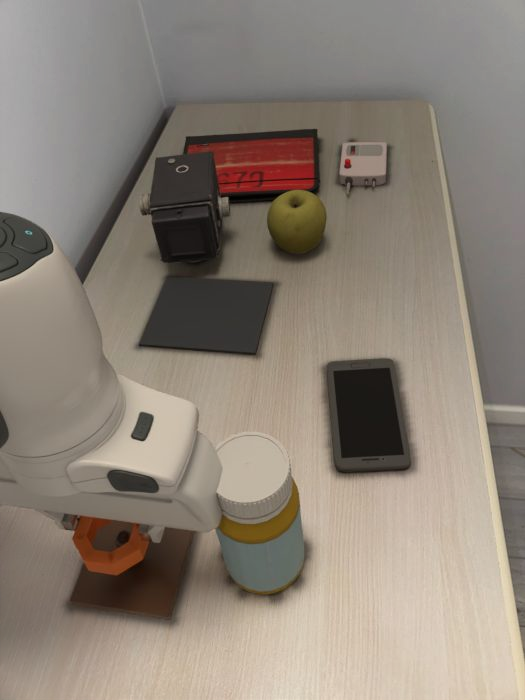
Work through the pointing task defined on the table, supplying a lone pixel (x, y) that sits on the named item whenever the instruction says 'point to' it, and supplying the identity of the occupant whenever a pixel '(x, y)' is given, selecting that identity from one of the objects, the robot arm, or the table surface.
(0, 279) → the robot arm
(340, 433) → the cell phone
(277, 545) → the bottle
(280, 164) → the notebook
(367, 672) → the table surface
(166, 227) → the camera
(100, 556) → the ring
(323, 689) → the table surface
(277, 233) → the apple
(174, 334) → the mat
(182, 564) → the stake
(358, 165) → the electronic control box
